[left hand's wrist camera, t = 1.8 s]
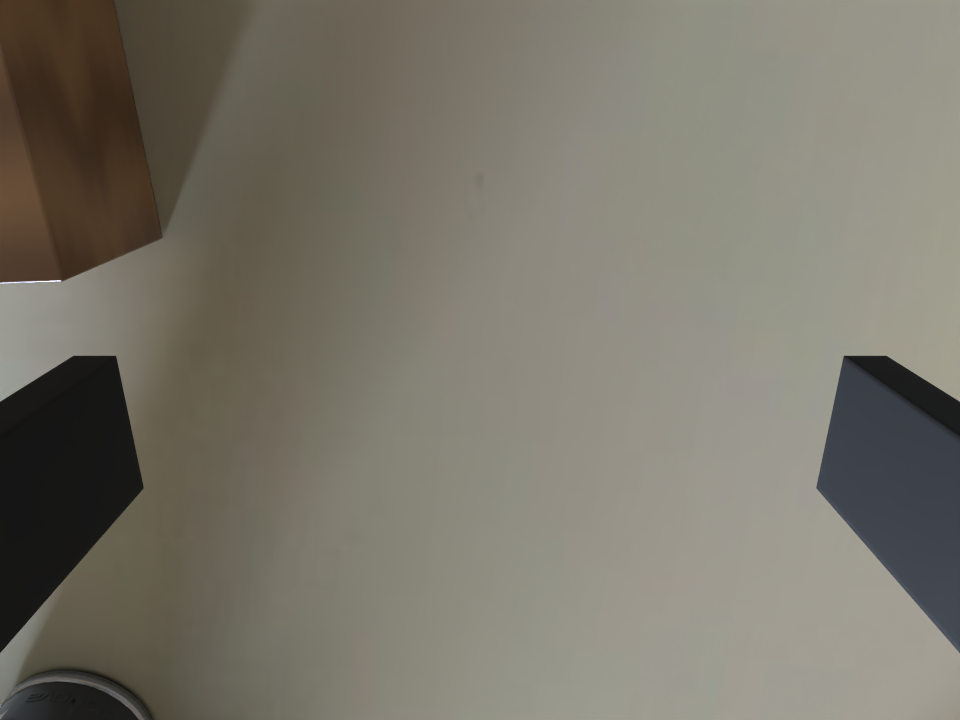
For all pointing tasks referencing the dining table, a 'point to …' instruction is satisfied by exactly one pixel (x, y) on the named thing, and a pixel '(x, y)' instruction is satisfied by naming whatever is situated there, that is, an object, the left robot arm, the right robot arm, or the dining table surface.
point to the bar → (68, 143)
